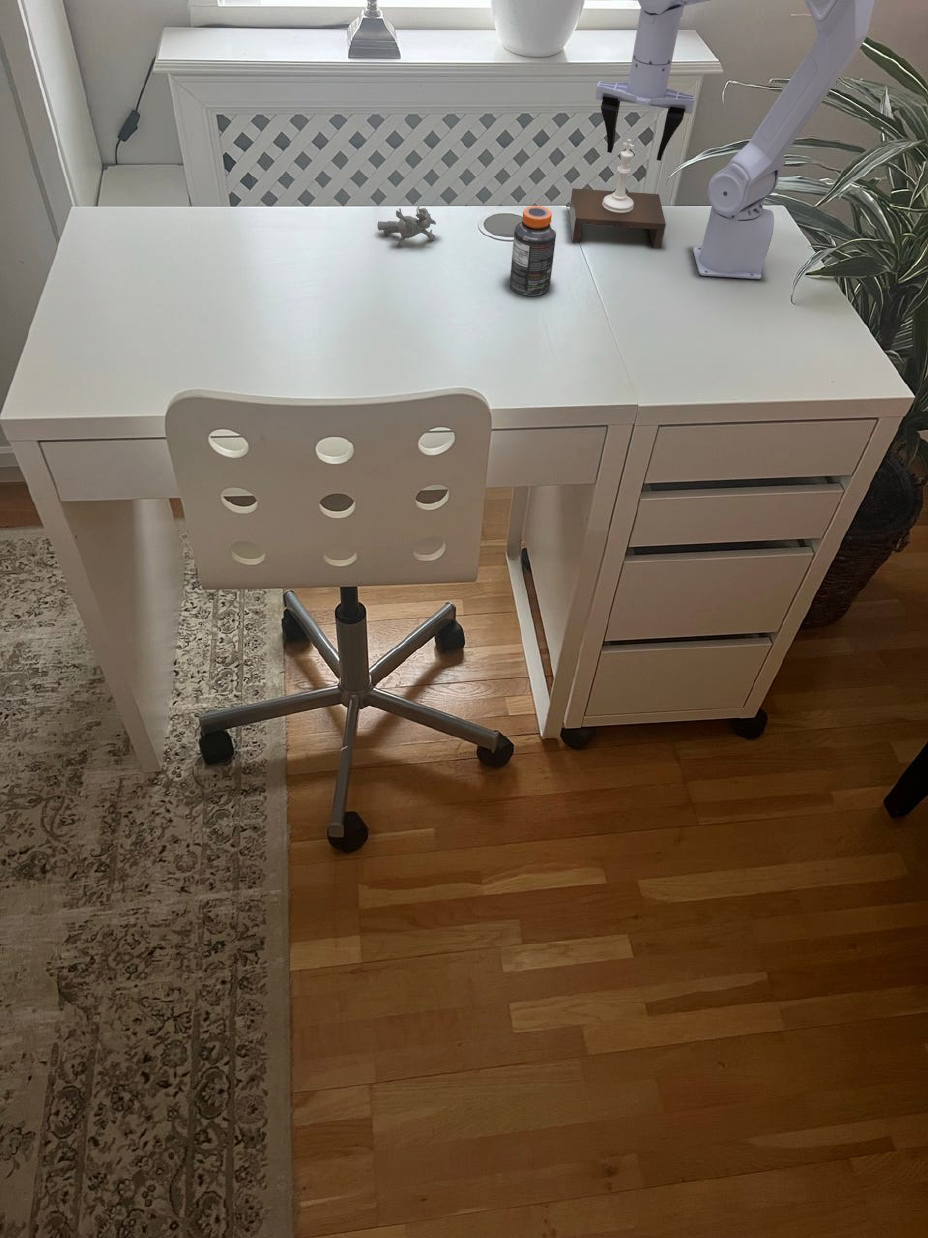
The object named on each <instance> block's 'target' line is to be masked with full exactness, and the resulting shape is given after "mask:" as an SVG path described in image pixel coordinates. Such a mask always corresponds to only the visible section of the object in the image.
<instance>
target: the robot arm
mask: <svg viewBox="0 0 928 1238" xmlns="http://www.w3.org/2000/svg"><path fill="white" fill-rule="evenodd" d="M710 1H711V0H637V2H638V5H639V6H640V11H639V16H638V23H637V28H636V34H635V40H634V44H633V45H634V46H633V51H632V56H631V57H632V58H631V63H630V70H629V75H628V82H627V81H625V82H623V81H618V82H617V81H615V82H614V81H602V80H599V81H598V82H597V85H596V90H595V92H596V93H595V97H594V99H595V100H597V101H598V100H599V101H601V105H600V111H601V115H602V118H603V122H604V126H605V132H606V141H607V142H606V143H607V148H606V149H607V150H606V152H607V153H609V154H612V153H613V150H614V145H615V141H616V129H617V122H618V116H619V112H620V111H619V110H620V107H621V106H620V105H621V102H622V103H628V104H634V105H635V104H636V105H639V106H646V107H654V108H655V107H656V108H662V109H667V111H666V116H665V120H664V126H663V132H662V136H661V141H660V145H659V147H658V151H657V155H656V161H662V158H663V155H664V152H665V150H666V148H667V146H668V144H669V142H670V140H671V138H672V137H673V135H674V133H675V132H676V130H677V129H678V128H679V127H680V125H681V123H682V122H683V120H684V116H685V114H688V115H692V114H693V110H694V105H695V101H696V96H697V95H696V94H695V95H694V94H689V93H684V92H682V91H678V90H674V89H671V88H668V82H669V77H670V73H671V68H672V64H673V63H672V62H673V57H674V53H675V48H676V43H677V38H678V33H679V27H680V22H681V18H682V17H683V14H684V13H683V12H684V9H685V7H686V6H692V5H696V4H701V3H705V2H710ZM803 1H804V3H805V5H806V7H807V9H808V11H809V13H810V15H811V17H812V20H813V21H814V24H815V27H816V31H817V37H816V39H815V40H814V42H813V44H812V45H811V46H810V48H809V50H808V51H807V53H806V54H805V56H804V57H803V59H802V60H801V62H800V64H799V65H798V67H797V68H796V70H795V71H794V72H793V74H792V75H791V76H790V79H789V80H788V81H787V83H786V85H785V86H784V88H783V89H782V91H781V92H780V94H779V95H778V97H777V99H776V100H775V101H774V103H773V104H772V106H771V108H770V109H769V110H768V112H767V114H766V115H765V117H764V118H763V120H762V122H761V123H760V125H758V127H757V129H756V131H755V132H754V134H753V135H752V137H751V138H750V140H749V141H748V142H747V143H746V145H744V146H743V147H742V148H741V149H740V150H739V151H738V152H737V153H736V154H735V155H734V156H732V158H731V159H730V160H729V162H728V164H727V165H726V166H725V167H724V168H723V169H721V170H718V171H717V172H716V173H714V174H713V176H712V177H711V178H710V181H709V183H708V186H707V197H708V201H709V204H710V205H711V208H710V213H709V217H708V220H707V224H706V228H705V232H704V235H703V240H702V244H701V246H694V247H693V248H692V252H693V255H694V256H693V257H694V260H695V264H696V267H697V271H698V274H699V275H700V276H706V277H718V278H719V277H720V278H721V277H722V278H734V279H735V278H736V279H737V278H738V279H751V280H760V279H762V271H763V268H764V265H765V261H766V258H767V255H768V252H769V248H770V245H771V242H772V238H773V235H774V227H775V214H774V212H773V210H771V209H769V208H764V203H765V200H766V198H767V197H769V196H771V194H773V192H774V191H775V190H776V189H777V186H778V184H779V183H778V182H779V178H780V174H781V171H782V169H783V168H784V166H785V165H786V163H787V159H786V157H785V155H786V154H787V152H788V151H789V149H790V148H791V146H793V144H794V143H795V141H796V139H797V138H798V137H799V135H800V134H801V132H802V131H803V130H804V128H805V126H806V125H807V124H808V122H809V121H810V120H811V119H812V117H813V115H814V114H815V113H816V111H817V109H818V108H819V107H820V105H821V104H822V103H823V102H824V99H825V98H826V97H827V95H828V94H829V93H830V91H831V90H832V89H833V86H834V85H835V84H836V83H837V81H838V79H839V78H841V76H842V74H843V73H844V71H845V69H846V68H847V67H848V65H849V64H850V63H851V61H852V60H853V58H854V57H855V56H856V54H857V52H858V51H859V49H860V48H861V47H862V46H863V44H864V42H865V40H866V38H867V36H868V33H869V29H870V24H871V19H872V15H873V10H874V6H875V0H803Z"/></svg>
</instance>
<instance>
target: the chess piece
mask: <svg viewBox="0 0 928 1238" xmlns="http://www.w3.org/2000/svg"><path fill="white" fill-rule="evenodd" d="M622 147H624V148H625V149H624V150H622V151H621V152H620V153H619V154H620V155H619V156H620V163H621V165H619V166H617V172H619V177H618V180H617V184H616V187H615V190H614V191H615V192H614V193H613V194H610V195H607V196H606V197H604V199H603V202H602V205H603V207H604V208H606V209H607V210H609V211H612V212H617V213H625V212H629V211H631V210H632V209H633V207H634V206H633V205H634V202H633V200H632V199H631V198H630V197H628V196H627V195H626V194H625V192H626V190H627V189H626V187H627V175H628V174H630V173H631V172H632V167H630V166H629V165H630V164H631V162H632V160H633V158H634V156H635V154H634V152H633V151H631V150H634V149H635V144H632V139H630V138H628V139H627V142H623V143H622Z"/></svg>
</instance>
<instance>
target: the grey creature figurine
mask: <svg viewBox="0 0 928 1238" xmlns="http://www.w3.org/2000/svg"><path fill="white" fill-rule="evenodd" d="M420 207H421V203H419V204H418V205H417V207H416V208H415V212H416V214H415V217H413V216H411V215H403V213H402V208H401V207H399V208H398V209H396V210H395V217H397V218H398V219H399V220H398V221H396V220H388V221H381V220H378V221H377V230H378V231H382V232H383V235H385V236H386V235H391V234H400V240H399V242H398V243H397V244H396V247H399V246H400V244H401V243H402V242H404V240H406V239H411V238H413V237H416V236H417V235H420V234H424V235H425V236H426V237H428V239H429V240H432V241H435V240H436V235H435V234H434V233H433V229H432V228H431V229H430V230H429V231H428V230H427V229H429V228H430V227H431V225H437V222H436V221H435V220H434V219H433V218H432V217H431V213H430V212H429V211H428V209H427V208H426V207H421V208H420Z"/></svg>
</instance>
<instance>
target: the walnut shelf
mask: <svg viewBox="0 0 928 1238" xmlns="http://www.w3.org/2000/svg"><path fill="white" fill-rule="evenodd" d="M614 192H615V190H605V189H604V190H603V189H601V190H600V189H588V188H572V189H571V196H570V204H569V209H568V213H569V215H568V216H569V225H570V234H571V242H572V243H575V244H580V243H581V236H582V231H583V225H585V226H600V227H614V228H630V229H647V230H649V235H650V238H651V242H652V248H654V249H661V248H662V244H663V239H664V235H665V230H666V225H667V221H666V218H665V213H664V210H663V205H662V202H661V197H660V194H659V193H648V192H634V191H633V192H632V191H631V192H630V191H625V194H626V195H627V196H628V197H630V198H631V199H632V200H633V202H634V205H633V206H634V207H633V209H632V210H631V211H629V212H625V213H617V212H612V211H609V210H607V209H606V208H604V207H603V205H602V202H603V199H604V197H606V196H607V195H610V194H613V193H614Z"/></svg>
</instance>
